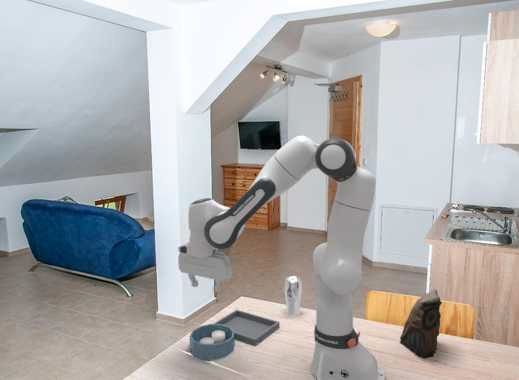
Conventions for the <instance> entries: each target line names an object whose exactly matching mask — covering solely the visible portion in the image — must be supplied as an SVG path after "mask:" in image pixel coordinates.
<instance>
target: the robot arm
mask: <svg viewBox="0 0 519 380" xmlns="http://www.w3.org/2000/svg"><path fill="white" fill-rule="evenodd" d="M314 169H317V170H318V169H319V171H321V173H323V174H324V175H325V176H328V177H329V178H331V179H332V180H334V181H336V183H337V184H336V185H337V187H336V193H335V197H334V200H333V204H332V207H331V211H330V214H329V219H328V223H327V238H326V242H322V243H321V244H318V246H317V247H315V249H314V251H313V252H312V253H313V254H312V264H313V265H312V266H313V281H314V291H315V299H316V300H315V302H316V311H315V312H316V314H315V317H316V319H315V320H316V324H315V326H314V342H315V343H314V352H313V358H312V362H311V365H310V372H311V374H312V375H313V376H314V378H316V380H386V374H385V372H384V370H383V369H381V368H378V363H377V361H378V360H377V358H376V356H375V355H374V354H373V352H371V351H370V350H368V348H367V347H365V346H364V345H363V344H362V343H361V342H360V341H359V339H360V337H361V331H359V332H356V330H355V328H354V302H353V301H354V300H353V298H352V295H353V294H354V293H356V292H358V290H359V289H360V287H361V286H362V283H363V273H362V264H363V263H362V262H363V255H364V254H363V253H364V240H365V236H366V230H367V227H368V223H369V219H370V215H371V212H372V208H373V204H374V200H375V193H376V185H377V184H376V183H377V181H376V177H375V175H374V173H372V172H371V171H369V170H368V169H365V168H363V167H359V165H358V164H357V162H356V156H355V150H354V147H353V146H352V145H351V144H350V143H349V142H348V141H346V140H345V139H342V138H338V137H332V138H328V139H325V140H323V141H322V142H321V143H320V144H319V143H316V142H315V141H314V140H313V139H311V137H308V136H306V135H297V136H295V137H293V138H292V139H290V140H289V141H288V142H286V143H285V144H284V145H283V146H282V147H280V148H279V149H278V150H277V151H276V152H275V153H274V154H273V155H272V156H271V157H270V158H269V159H268V160H267V162H265V165H264V166H262V168H261V170H260V172H259V173H258V174H257V176H256V178H254V181H253V182H252V184H251V185H250V187H249V188H248V190H247V191H246V192H245V193H244V194H242V196H241V197H240V198H239V199H238V200H236V202H235V203H234V204H232V205H231V207H229V206H225V205H222V204H220V203H219V202H217V201H215V200H214V199H213V198H210V197H209V198H207V197H206V198H205V197H204V198H201V199H197V200H194V201H193V202H192V203H190V204H189V207H188V215H187V216H188V217H187V218H188V221H187V222H188V229H189V234H190V236H189V240H188V241H189V242H187V243H183V244H181V245H179V246H178V247H177V251H178V260H177V261H178V264H177V265H178V270H179V271H180V273H184V274H187V275H188V279H189V280H190V282H191V283H190V284H191V287H194V288H197V287H198V286H199V280H197V278H196V277H202V278H206V279H210V280H215V283H216V285H214V286H213V287H212V288H213V289H212V290H213V292H214V293H219V292H221V286H222V283H223V282H227V281H229V280H231V278H233V271H232V269H233V268H232V265H231V258H230V256H229V255H228V253H227V252H225V251H220V250H226V249H229V248H231V247H232V246H233V245H234V244H235V242H236V241H237V238H238V239H239V236H240V235H241V234H242V233H243V231H244V230H245V228H246V223H247V222H248V221H250V219H251V218H253V216H254V215H255V214H256V213H257V212H259V210H261V208H262V207H264V206H265V205H267V204H268V203H270V202H272V200H274V199H276V198H277V197H280V196H281V195H282V194H284V193H286V192H287V191H289V190H290V189H291V188H293V187H294V186H295V185H296V184H298V182H299V181H300V180H301V179H302V178H303V177H304V176H305V175H306V174H307V173H309V172H310V171H312V170H314Z"/></svg>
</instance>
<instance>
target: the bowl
mask: <svg viewBox="0 0 519 380" xmlns="http://www.w3.org/2000/svg"><path fill="white" fill-rule="evenodd" d="M217 330H221V331H224V332H225V342H221V343H217V344H202V343H200V340H201V339H202V338H206V337H210V338H212V332H214V331H217ZM235 346H236V339H235V332H234V330H233V329H232V328H231V327H229V326H226V325H223V324H214V323H207V324H203V325H199V326H198V327H196V328H194V329H192V330H191V333H190V334H189V350H190V351H191V355H192V356H193V358H195V359H197V360H200V361H202V362H203V361H204V362H208V361H209V362H210V361H211V359H213V360H215V359H219V358H220V359H221V358H223V357H226V356H228V355H229V354H231V353H233V351H234V349H235Z"/></svg>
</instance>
